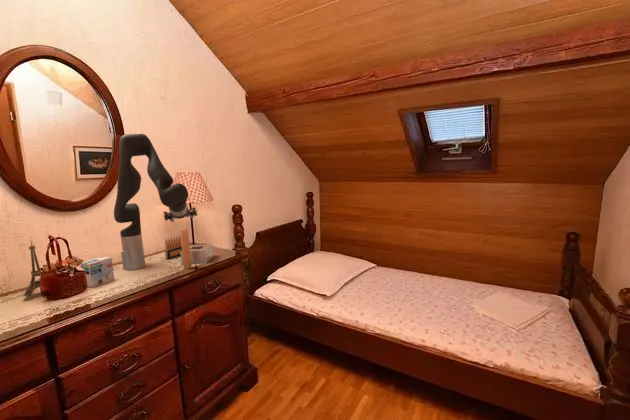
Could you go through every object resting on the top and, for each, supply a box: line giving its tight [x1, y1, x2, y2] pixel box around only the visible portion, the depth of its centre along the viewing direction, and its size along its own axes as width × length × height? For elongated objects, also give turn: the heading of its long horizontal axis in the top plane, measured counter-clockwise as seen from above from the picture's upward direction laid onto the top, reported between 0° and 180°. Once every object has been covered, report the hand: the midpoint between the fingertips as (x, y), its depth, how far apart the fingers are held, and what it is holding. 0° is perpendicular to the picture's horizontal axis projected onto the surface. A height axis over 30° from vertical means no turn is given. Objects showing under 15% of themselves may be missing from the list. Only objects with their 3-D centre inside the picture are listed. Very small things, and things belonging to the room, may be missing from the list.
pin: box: [179, 228, 193, 270], centre depth 157 cm, size 4×4×20 cm
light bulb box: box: [79, 255, 115, 288], centre depth 142 cm, size 11×7×11 cm, turn 160°
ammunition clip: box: [164, 234, 182, 260], centre depth 178 cm, size 11×2×12 cm, turn 154°
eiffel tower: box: [23, 237, 41, 302], centre depth 130 cm, size 11×11×25 cm
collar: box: [180, 243, 214, 266], centre depth 170 cm, size 13×13×7 cm
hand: (182, 218), depth 154 cm, fingers open, 8 cm apart
